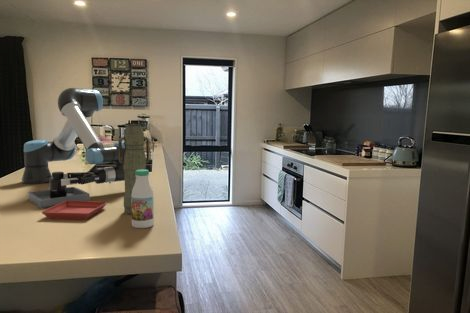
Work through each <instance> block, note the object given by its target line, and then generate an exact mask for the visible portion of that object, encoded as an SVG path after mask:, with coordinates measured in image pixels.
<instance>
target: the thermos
mask: <svg viewBox="0 0 470 313" xmlns="http://www.w3.org/2000/svg"><path fill="white" fill-rule="evenodd" d="M145 140H146V142H145ZM117 142H118V143H119V162H120V163H121V164H123V170H124V173H125V181H124V193H123V207H124V210H123V211H124V212H123V213H124V214H126V215H131V216H132V213H131V194H132V189H133V187H134V185H135V182H136V175H135V171H136V170H141V169H145V170H147V163H150V158H151V157H150V156H151V152H150V148H151V147H150V139H149V138H148V137H147V136H145V133H144V129H143V126H141V125H140V124H128V125H125V128H124V132H123V137H120V139H119V140H118V141H117ZM122 142H124V145H125V149H124V154H123V160H122ZM144 145H145V146H146V152H145V148H144Z"/></svg>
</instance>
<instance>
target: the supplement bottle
mask: <svg viewBox="0 0 470 313" xmlns="http://www.w3.org/2000/svg"><path fill="white" fill-rule="evenodd" d="M64 174H65V173H64V171H53V172H51V175H52V179H50V182H49V190H50V199H51V198H59V197H66V196H67V186H68V185H64V186H61V179H65V178H63V177H64Z"/></svg>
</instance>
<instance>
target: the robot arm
mask: <svg viewBox="0 0 470 313" xmlns="http://www.w3.org/2000/svg"><path fill="white" fill-rule="evenodd" d="M57 106H58V107H57V108H58V110H59V111H60V114H61V115H62V116H63V117H66V122H65V123H64V125H63V127H62V129H61V131H60V133H59V134H58V135H55V137H54V138H53V140H52V141H48V140H46V139H36V140H35V139H33V140H29V141H27V142H25V143H24V144H23V159H24V170H23V174H22V177H21V183H22V184H29V185H30V184H31V185H32V184H34V185H35V184H44V183H50V179H52V172H51V171H50V167H49V163H50V162H51V163H52V162H62V161H68V160H71V159H73V158H74V156H75V155H76V150H77V148H76V144H75V140H76V139H77V137H78V138H79V140H80V142H81V143H82V145H83V146H84V148H85V149H86V151H85V154H84V155H85V158H86V159H85V160H86V162H87V163H88V164H90V165H101V164H109V163H114V166H106V167H96V168H94V170H93V172H91V171H83V172H67V173H64V177H63V178H65V179H61V186H64V185H67V186H70V185H71V186H72V185H86V184H90V183H95V184H97V185H99V184H104V183H108V184H112V183H113V182H114V183H115V182H116V183H117V182H125V173H124V170H123V164H121V163H120V162H119V143H118V141H117V142H114V144H113V146H107V147H106V146H104V144H103V143H102V141H101V140H100V138H99V137H98V135H97V133H96V131H95V130H94V129H93V127H92V126H91V124H90V122H89V120H88V118H89V119H90V118H92V117H93V115H94V113H95V112H100V111H101V110H102V109H103V106H104V99H103V96H102V94H101V92H100V91H99V90H97V89H93V88H78V87H77V88H75V87H69V88H65V89H64V90H62V91H61V92H60V93H59V95H58V98H57ZM124 149H125V145H124V141H122V160H123V154H124Z"/></svg>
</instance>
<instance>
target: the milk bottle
mask: <svg viewBox="0 0 470 313" xmlns="http://www.w3.org/2000/svg"><path fill="white" fill-rule="evenodd" d="M135 175H136V182H135V185H134V187H133V189H132V194H131V213H132V215H131V225H132V228H135V229H146V228H151V227H154V224H155V200H154V199H155V197H154V190H153V187H152V185H151V183H150V180H149V176H150V171H149V169H141V170H136V171H135Z"/></svg>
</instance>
